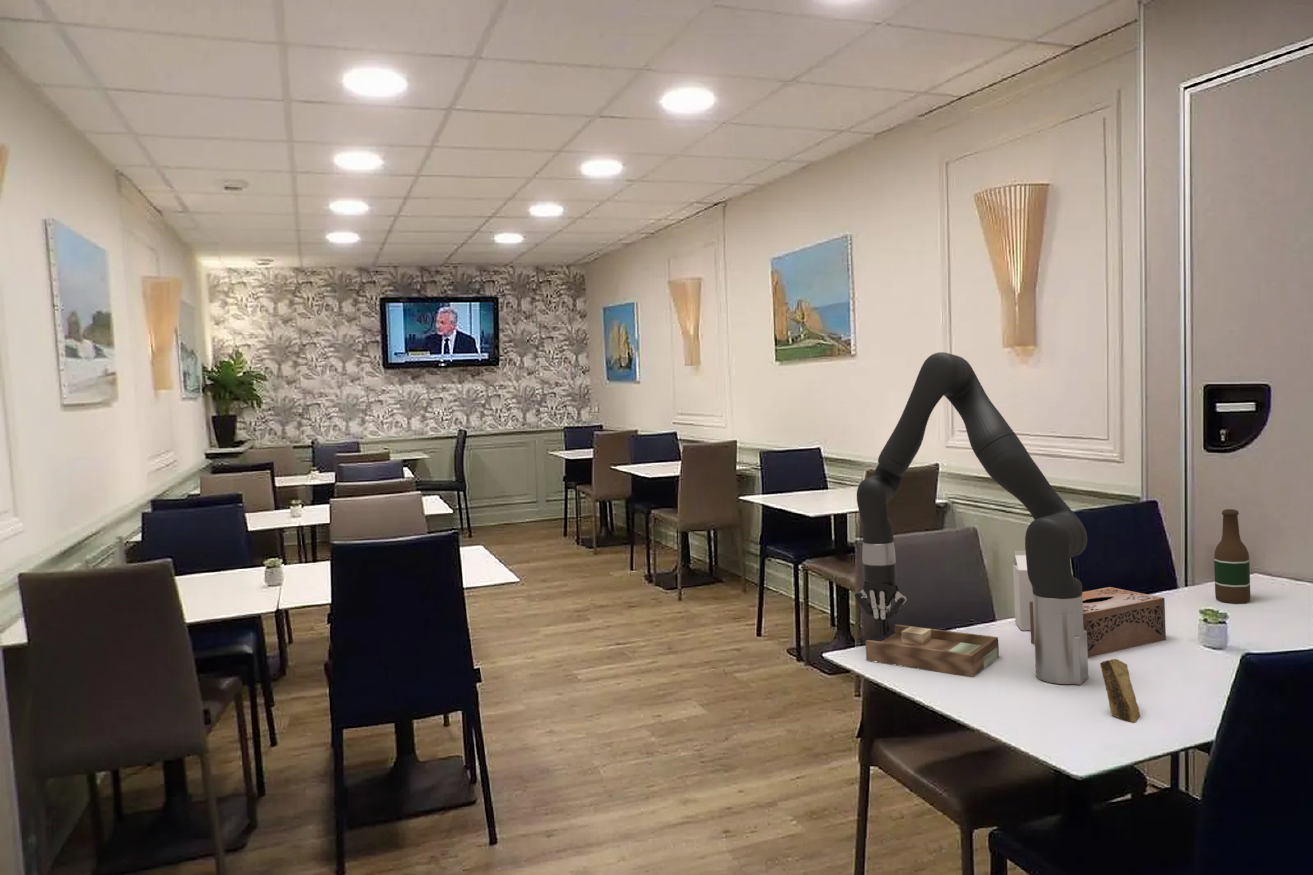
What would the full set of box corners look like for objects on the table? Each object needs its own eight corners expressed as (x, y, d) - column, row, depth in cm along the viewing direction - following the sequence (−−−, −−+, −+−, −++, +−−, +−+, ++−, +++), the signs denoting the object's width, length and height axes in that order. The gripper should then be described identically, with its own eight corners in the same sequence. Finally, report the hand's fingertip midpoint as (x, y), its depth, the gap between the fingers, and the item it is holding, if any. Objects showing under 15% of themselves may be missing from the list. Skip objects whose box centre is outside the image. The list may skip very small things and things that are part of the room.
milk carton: (1052, 631, 214) (1049, 553, 213) (1020, 631, 215) (1017, 553, 214) (1045, 623, 221) (1042, 547, 220) (1015, 623, 222) (1012, 548, 221)
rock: (1111, 683, 169) (1077, 686, 164) (1139, 653, 164) (1104, 656, 160) (1153, 731, 161) (1118, 736, 156) (1183, 701, 157) (1148, 705, 152)
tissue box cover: (1083, 660, 191) (1081, 614, 191) (1031, 644, 205) (1029, 601, 204) (1165, 641, 201) (1164, 597, 201) (1111, 627, 215) (1109, 587, 214)
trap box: (998, 657, 196) (998, 637, 196) (972, 677, 184) (971, 655, 183) (896, 643, 211) (896, 624, 211) (866, 660, 199) (865, 640, 199)
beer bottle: (1208, 599, 234) (1205, 509, 233) (1230, 596, 237) (1227, 507, 236) (1235, 605, 227) (1232, 512, 226) (1258, 602, 229) (1255, 510, 228)
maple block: (931, 639, 203) (931, 629, 203) (922, 645, 200) (922, 634, 200) (910, 637, 207) (910, 626, 207) (901, 642, 203) (901, 631, 203)
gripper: (912, 560, 206) (916, 633, 207) (860, 556, 215) (864, 626, 216) (898, 566, 201) (902, 641, 201) (846, 561, 209) (849, 634, 210)
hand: (882, 633), depth 208 cm, fingers closed
